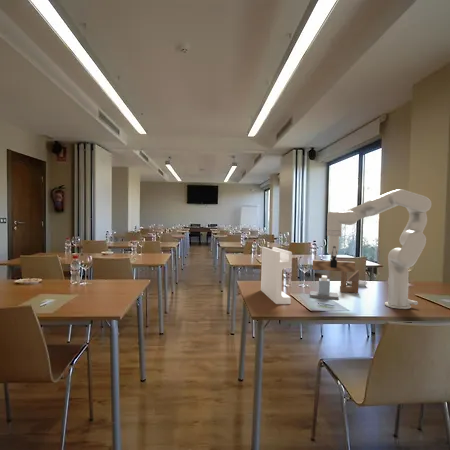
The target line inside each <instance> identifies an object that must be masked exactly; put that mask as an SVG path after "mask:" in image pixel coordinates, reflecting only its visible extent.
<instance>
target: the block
mask: <svg viewBox="0 0 450 450" xmlns="http://www.w3.org/2000/svg"><path fill="white" fill-rule="evenodd" d="M292 264H293V252H292V251H290V250H286V249H283V248H279V247H276V246H272V247H271V248H269V247H265V246H261V269H260V270H261V272H260V273H261V274H260V276H261V277H260V291H261V292H262V293H263V294H264V295H266V296H267V298H268V299H270V300H271V301H272V302H273V303H274V304H276V305H291V301H292V300H291V299H292V297H291V296H290V295H288V294H286V293H285V292H284V291H282V289H283V288H282V287H283V270H285V269H293V267H292Z"/></svg>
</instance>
